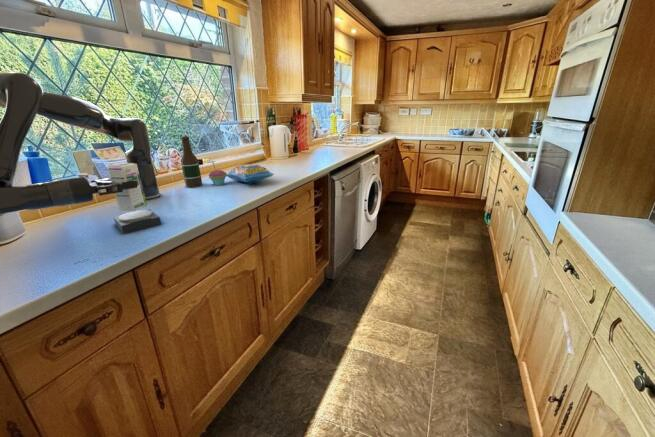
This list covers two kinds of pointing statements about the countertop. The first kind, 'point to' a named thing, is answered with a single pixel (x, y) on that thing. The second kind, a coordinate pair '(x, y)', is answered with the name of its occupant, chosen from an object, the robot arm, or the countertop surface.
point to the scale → (136, 220)
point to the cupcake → (217, 176)
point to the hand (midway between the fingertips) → (133, 181)
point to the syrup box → (128, 197)
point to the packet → (249, 173)
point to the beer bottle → (190, 165)
